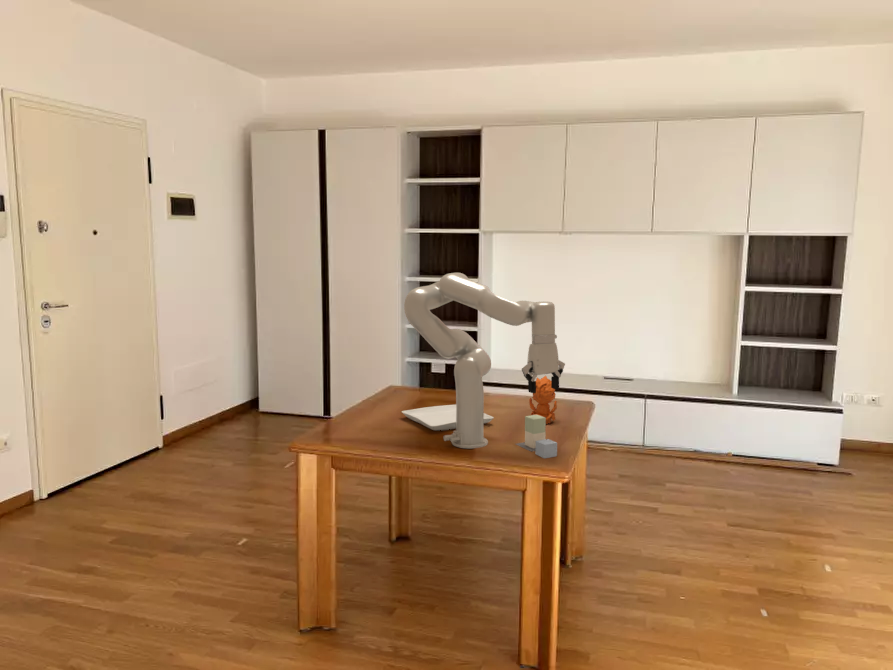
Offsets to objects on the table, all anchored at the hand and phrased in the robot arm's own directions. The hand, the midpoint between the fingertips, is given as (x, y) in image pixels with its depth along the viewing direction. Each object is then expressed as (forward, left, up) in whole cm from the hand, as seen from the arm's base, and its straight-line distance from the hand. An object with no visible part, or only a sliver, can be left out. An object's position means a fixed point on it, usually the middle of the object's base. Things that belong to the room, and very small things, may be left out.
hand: (543, 390), depth 231 cm
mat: (+1, +6, -21) cm, 22 cm away
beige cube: (+1, +6, -20) cm, 21 cm away
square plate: (-10, +49, -21) cm, 55 cm away
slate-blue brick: (-2, -5, -21) cm, 22 cm away
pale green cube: (+1, +6, -15) cm, 17 cm away
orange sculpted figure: (+23, +31, -21) cm, 44 cm away
